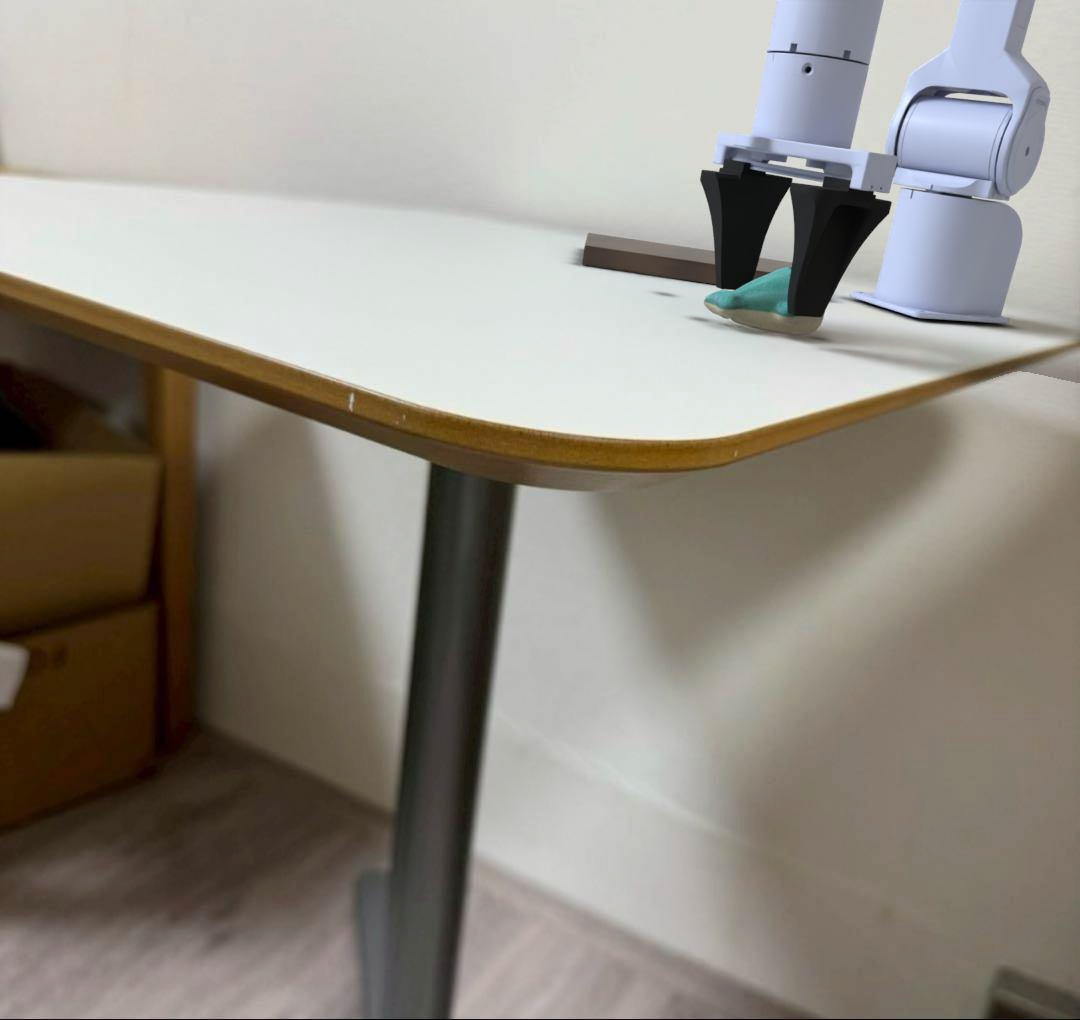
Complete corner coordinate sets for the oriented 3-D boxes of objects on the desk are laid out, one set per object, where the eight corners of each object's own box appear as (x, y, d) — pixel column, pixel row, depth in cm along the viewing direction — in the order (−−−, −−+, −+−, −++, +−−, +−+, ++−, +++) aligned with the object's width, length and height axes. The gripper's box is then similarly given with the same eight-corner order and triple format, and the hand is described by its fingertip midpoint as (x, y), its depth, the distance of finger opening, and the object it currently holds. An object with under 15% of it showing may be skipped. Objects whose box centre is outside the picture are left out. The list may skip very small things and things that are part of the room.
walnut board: (793, 280, 90) (797, 263, 90) (814, 299, 81) (819, 279, 80) (585, 250, 90) (587, 232, 90) (581, 265, 81) (584, 245, 81)
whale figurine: (837, 343, 63) (852, 279, 62) (726, 334, 61) (740, 268, 60) (791, 322, 68) (804, 263, 67) (687, 313, 66) (699, 252, 65)
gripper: (689, 48, 64) (651, 274, 68) (843, 50, 52) (783, 325, 56) (784, 65, 67) (741, 281, 71) (951, 71, 55) (885, 331, 59)
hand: (766, 301), depth 64 cm, fingers open, 7 cm apart
